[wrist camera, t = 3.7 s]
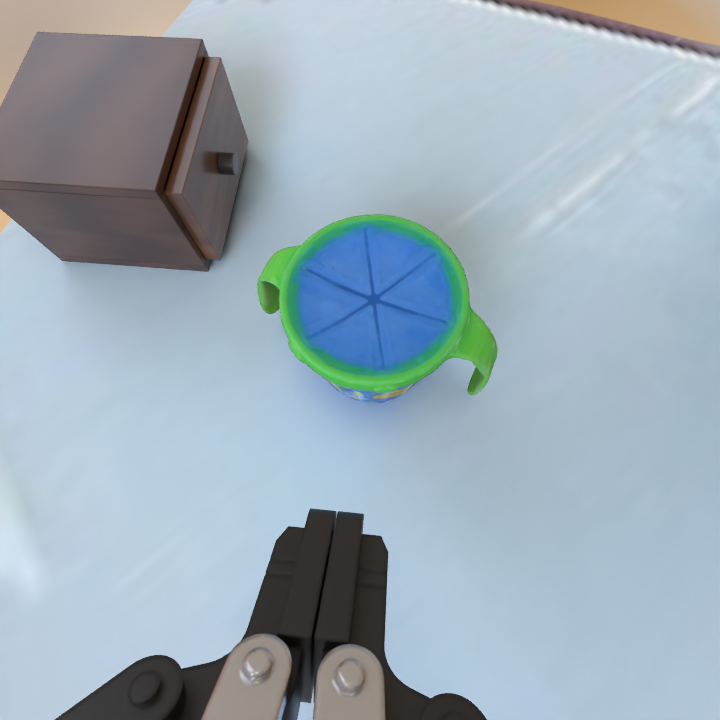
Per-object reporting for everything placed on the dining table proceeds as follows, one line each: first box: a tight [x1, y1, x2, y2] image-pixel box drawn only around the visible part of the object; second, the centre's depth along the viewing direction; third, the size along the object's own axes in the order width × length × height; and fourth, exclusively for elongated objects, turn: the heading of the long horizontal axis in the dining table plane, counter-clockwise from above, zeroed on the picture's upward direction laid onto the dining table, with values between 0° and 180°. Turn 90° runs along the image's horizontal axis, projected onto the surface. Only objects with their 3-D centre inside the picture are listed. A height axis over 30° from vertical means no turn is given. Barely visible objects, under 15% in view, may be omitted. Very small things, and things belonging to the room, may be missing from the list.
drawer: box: [163, 57, 248, 260], centre depth 35 cm, size 13×12×8 cm
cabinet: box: [0, 32, 211, 271], centre depth 35 cm, size 13×14×10 cm
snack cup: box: [257, 215, 497, 403], centre depth 29 cm, size 16×10×10 cm
